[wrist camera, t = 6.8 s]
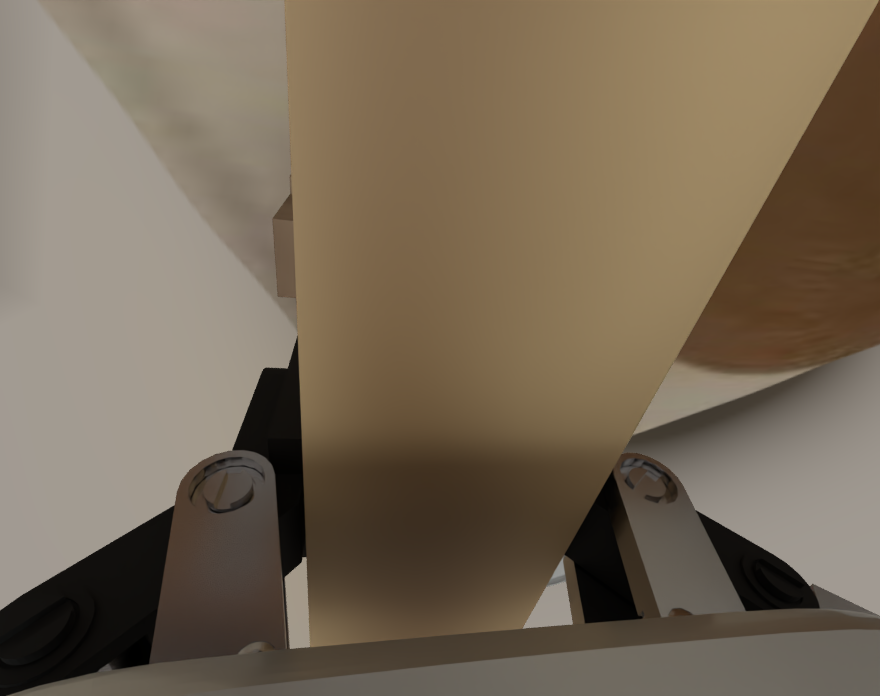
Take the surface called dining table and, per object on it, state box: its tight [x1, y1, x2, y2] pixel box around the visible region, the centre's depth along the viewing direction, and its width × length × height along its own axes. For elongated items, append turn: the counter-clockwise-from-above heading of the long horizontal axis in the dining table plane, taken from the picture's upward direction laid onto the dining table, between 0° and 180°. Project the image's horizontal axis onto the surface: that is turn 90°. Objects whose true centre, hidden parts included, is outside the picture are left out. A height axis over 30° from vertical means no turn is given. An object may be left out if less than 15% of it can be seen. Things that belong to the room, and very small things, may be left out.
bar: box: [285, 0, 879, 647], centre depth 9 cm, size 5×20×5 cm, turn 171°
